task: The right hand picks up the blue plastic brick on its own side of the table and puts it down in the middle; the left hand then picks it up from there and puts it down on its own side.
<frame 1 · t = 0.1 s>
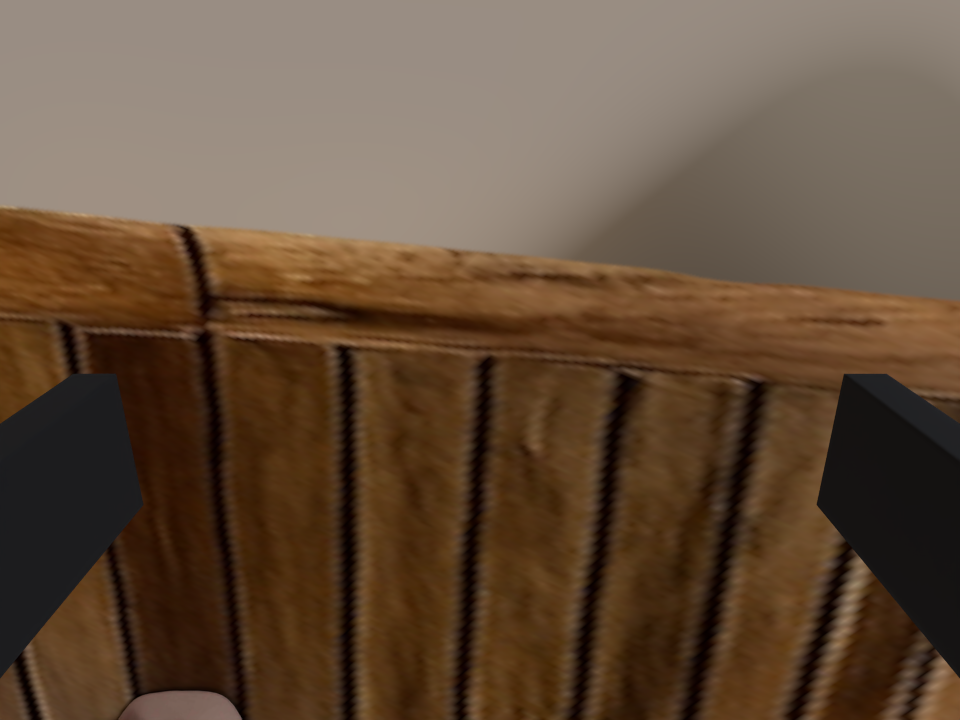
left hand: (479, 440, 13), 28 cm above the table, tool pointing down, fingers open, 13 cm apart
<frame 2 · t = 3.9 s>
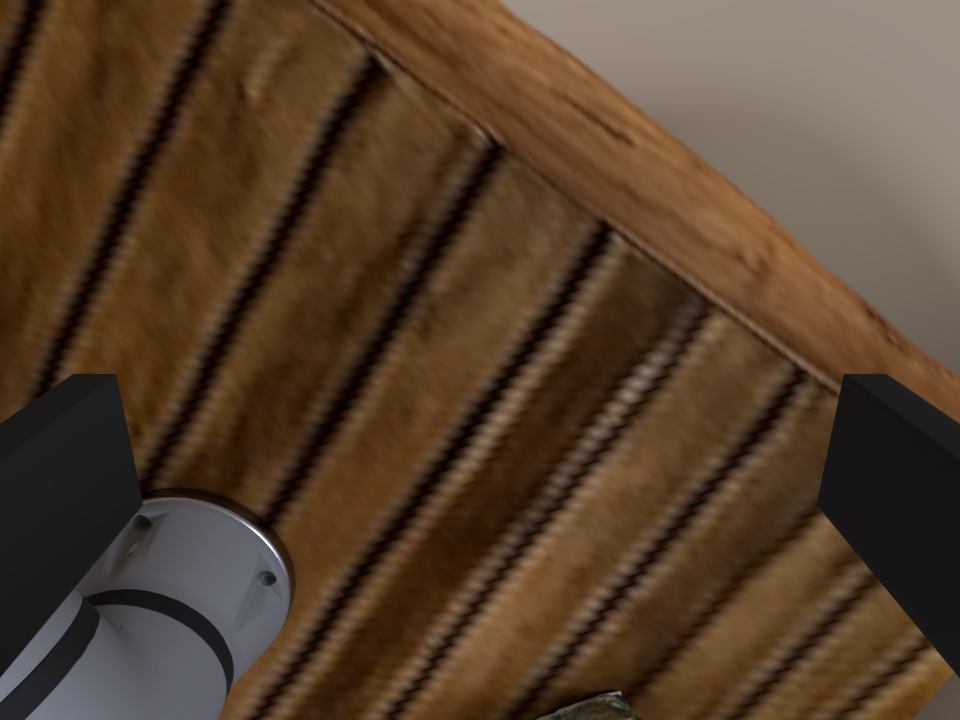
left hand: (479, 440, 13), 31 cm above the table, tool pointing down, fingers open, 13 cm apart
when the right hand's fingers open (6 cm above the table, at t = 8.6 s): brick drops 1 cm, on the table.
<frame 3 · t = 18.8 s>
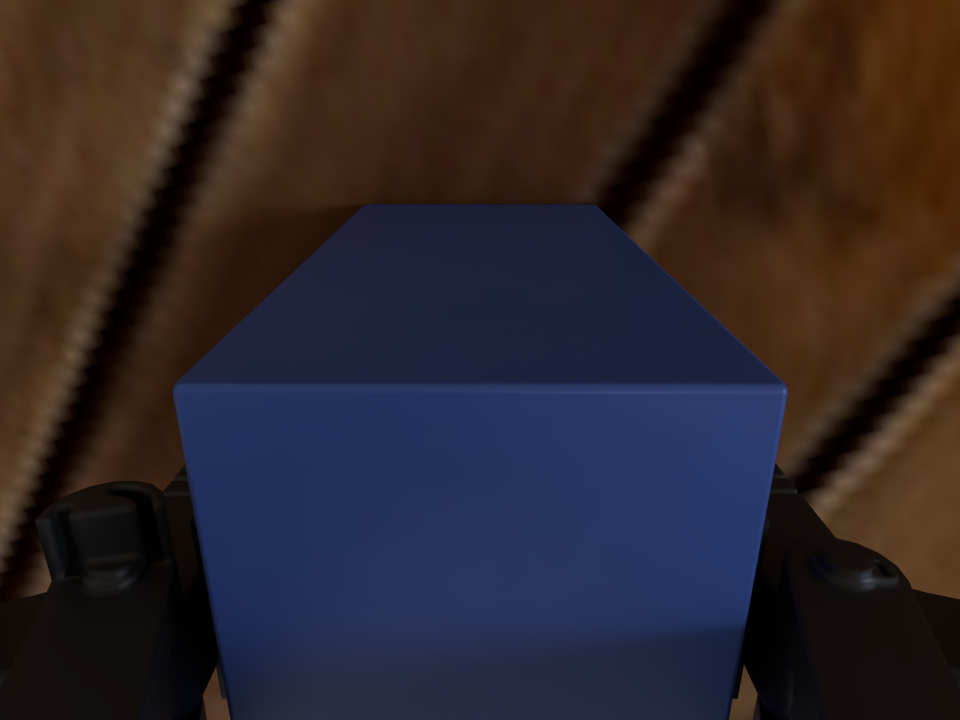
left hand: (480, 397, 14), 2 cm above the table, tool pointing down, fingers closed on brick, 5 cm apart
brick: (479, 360, 17), on the table, touching left hand
when the left hand's fingers open (4 cm above the table, at t = 23.8 s): brick drops 1 cm, on the table.
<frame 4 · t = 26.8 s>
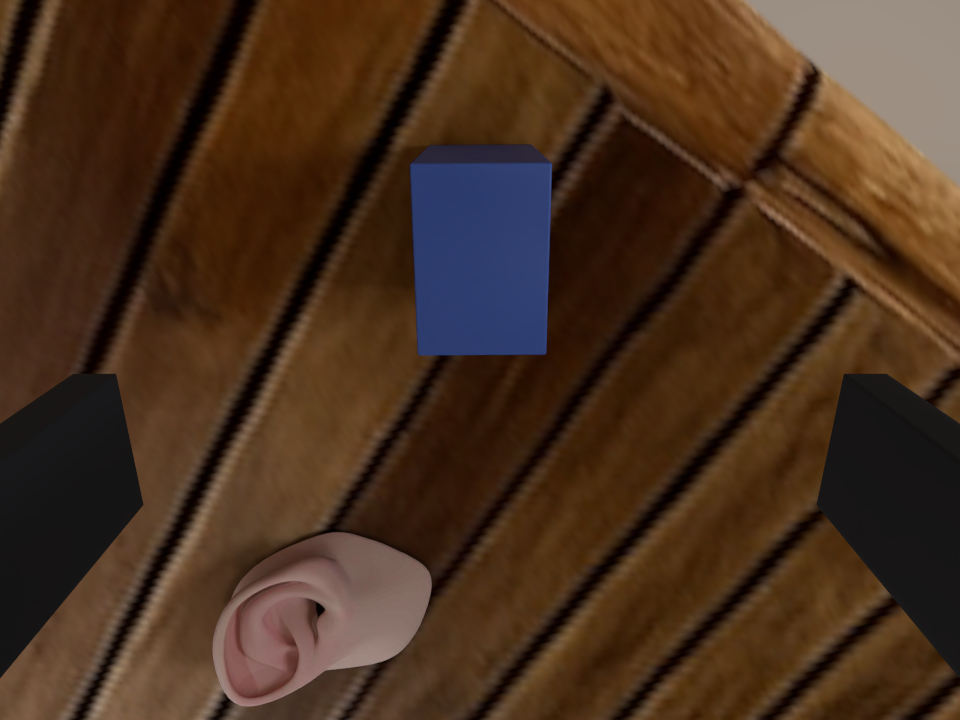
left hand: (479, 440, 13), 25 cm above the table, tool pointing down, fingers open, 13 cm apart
anatomical model: (330, 601, 45), on the table
brick: (480, 219, 36), on the table
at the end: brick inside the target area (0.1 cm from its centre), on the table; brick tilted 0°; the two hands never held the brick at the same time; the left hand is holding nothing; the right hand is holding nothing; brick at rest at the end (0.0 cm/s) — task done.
